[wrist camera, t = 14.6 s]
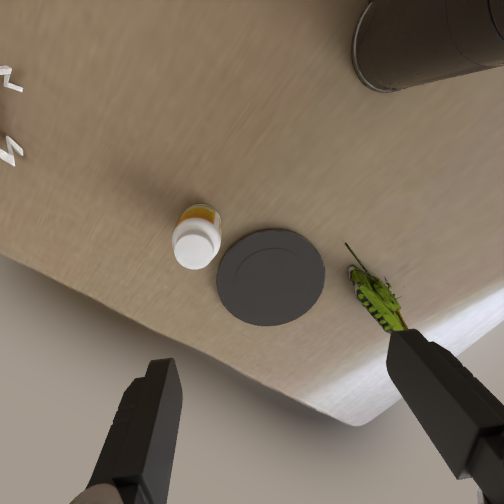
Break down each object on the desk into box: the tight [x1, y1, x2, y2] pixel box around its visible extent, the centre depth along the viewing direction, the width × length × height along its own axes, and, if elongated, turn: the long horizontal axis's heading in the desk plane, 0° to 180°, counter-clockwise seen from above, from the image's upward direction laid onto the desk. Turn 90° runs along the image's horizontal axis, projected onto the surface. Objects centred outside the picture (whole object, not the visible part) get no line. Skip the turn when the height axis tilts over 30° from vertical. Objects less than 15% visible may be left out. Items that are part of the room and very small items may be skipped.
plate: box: [217, 229, 325, 326], centre depth 41 cm, size 16×16×1 cm
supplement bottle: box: [172, 204, 222, 269], centre depth 32 cm, size 5×5×10 cm
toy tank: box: [345, 242, 408, 334], centre depth 40 cm, size 7×19×10 cm
